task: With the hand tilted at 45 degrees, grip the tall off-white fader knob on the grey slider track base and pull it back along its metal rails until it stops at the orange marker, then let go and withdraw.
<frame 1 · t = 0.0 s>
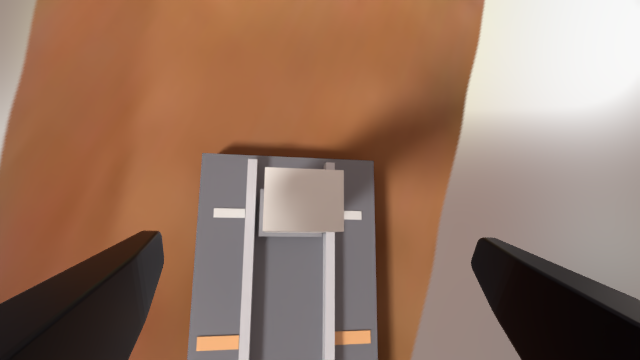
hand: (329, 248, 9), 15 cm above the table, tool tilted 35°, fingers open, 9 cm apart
grey slider track base: (286, 271, 23), on the table
fader: (295, 208, 17), point 7 cm above the table, slide at 0.0 cm
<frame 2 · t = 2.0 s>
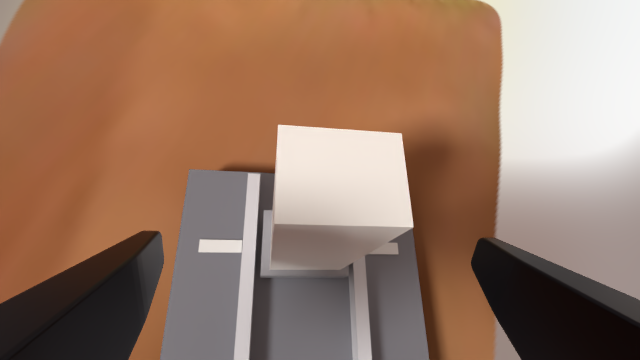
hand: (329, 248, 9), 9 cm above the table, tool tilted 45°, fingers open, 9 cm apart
grey slider track base: (298, 333, 16), on the table
fader: (316, 222, 12), point 7 cm above the table, slide at 0.0 cm
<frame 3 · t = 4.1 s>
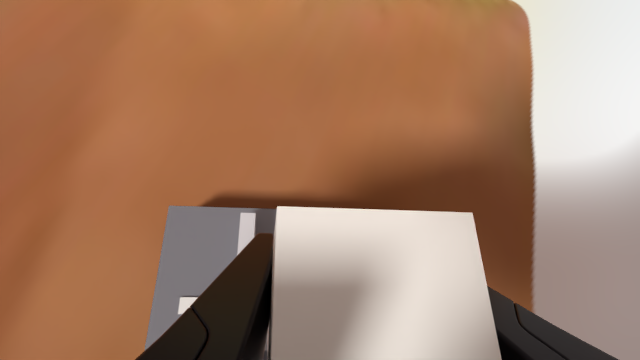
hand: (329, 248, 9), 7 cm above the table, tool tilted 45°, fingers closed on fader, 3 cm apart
fader: (329, 301, 9), point 7 cm above the table, slide at 0.0 cm, touching gripper
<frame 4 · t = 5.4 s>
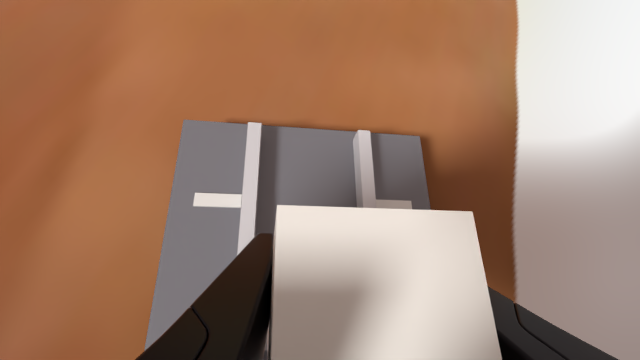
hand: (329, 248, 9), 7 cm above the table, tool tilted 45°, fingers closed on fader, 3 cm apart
grey slider track base: (303, 298, 15), on the table
fader: (329, 300, 9), point 7 cm above the table, slide at 4.3 cm, touching gripper
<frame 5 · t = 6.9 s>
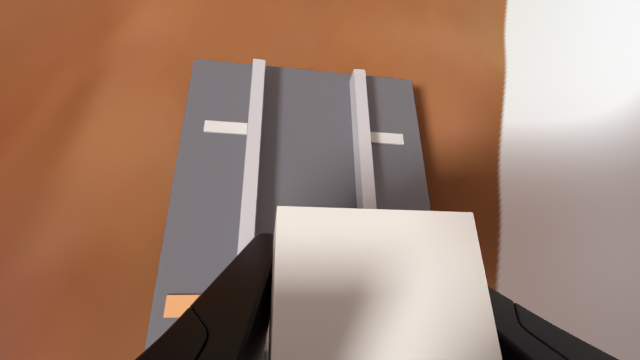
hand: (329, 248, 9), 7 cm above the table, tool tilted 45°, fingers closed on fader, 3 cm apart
grey slider track base: (303, 221, 16), on the table
fader: (329, 301, 9), point 7 cm above the table, slide at 8.0 cm, touching gripper
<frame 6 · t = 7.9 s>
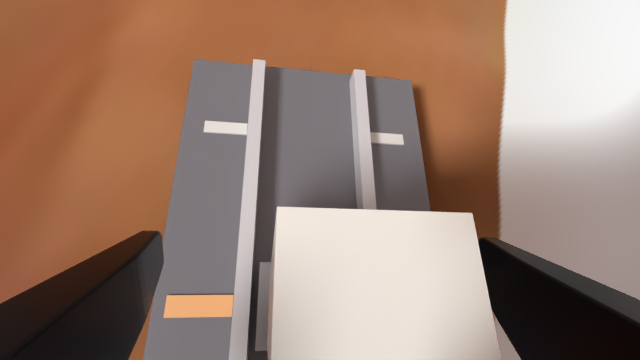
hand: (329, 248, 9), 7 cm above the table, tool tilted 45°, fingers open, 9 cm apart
grey slider track base: (303, 221, 16), on the table
fader: (329, 301, 9), point 7 cm above the table, slide at 8.0 cm
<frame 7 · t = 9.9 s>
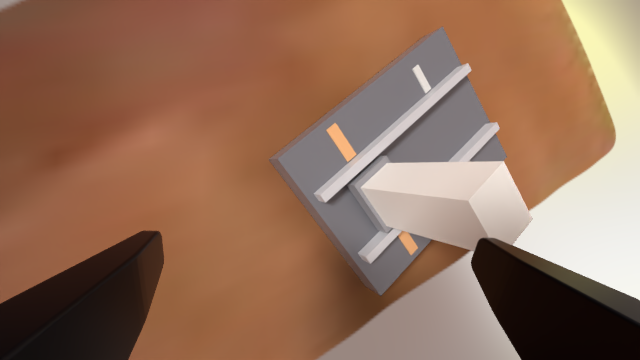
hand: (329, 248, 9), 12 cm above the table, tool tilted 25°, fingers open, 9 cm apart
grey slider track base: (395, 158, 25), on the table
fader: (425, 199, 17), point 7 cm above the table, slide at 8.0 cm
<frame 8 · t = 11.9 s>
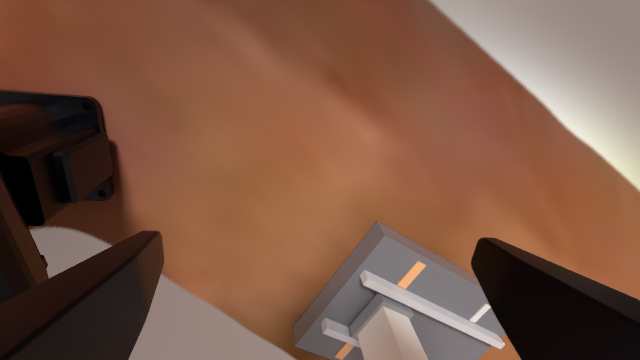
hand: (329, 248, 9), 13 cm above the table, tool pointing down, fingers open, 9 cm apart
grey slider track base: (405, 310, 28), on the table
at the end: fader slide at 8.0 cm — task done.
